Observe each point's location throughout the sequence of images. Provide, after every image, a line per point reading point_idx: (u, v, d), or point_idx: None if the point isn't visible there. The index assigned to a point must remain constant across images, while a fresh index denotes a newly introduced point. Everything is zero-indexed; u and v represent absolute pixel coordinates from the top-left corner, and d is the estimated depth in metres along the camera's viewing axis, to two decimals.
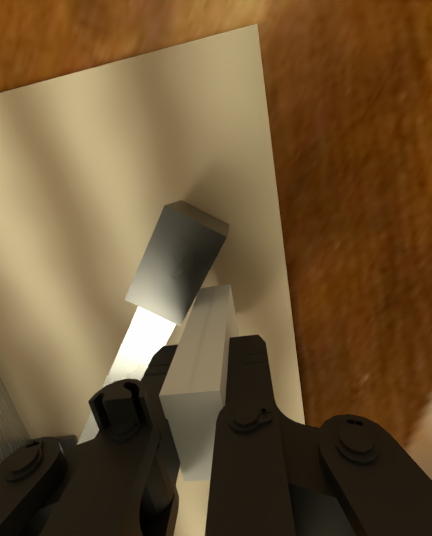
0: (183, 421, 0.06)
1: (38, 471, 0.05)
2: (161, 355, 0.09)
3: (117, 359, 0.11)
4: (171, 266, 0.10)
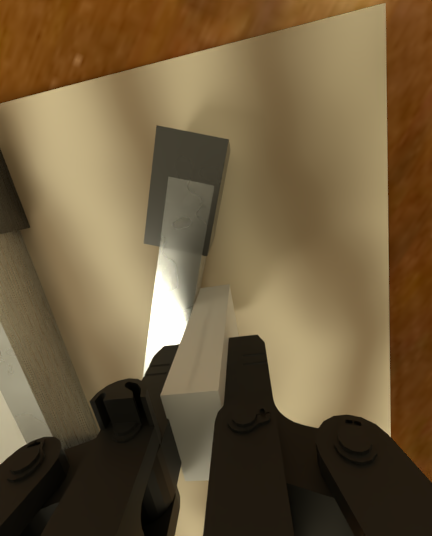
0: (184, 422, 0.06)
1: (39, 471, 0.05)
2: (162, 355, 0.09)
3: (153, 312, 0.11)
4: (181, 191, 0.09)
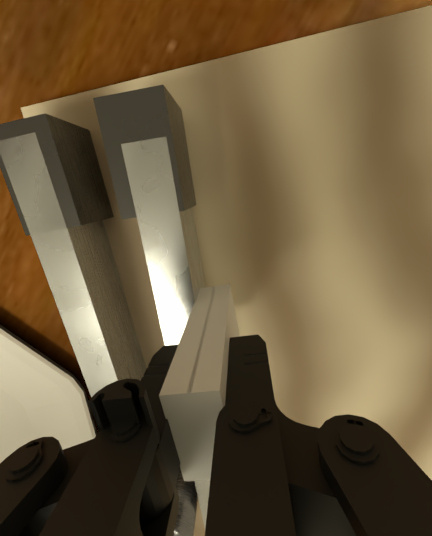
0: (183, 422, 0.06)
1: (38, 471, 0.05)
2: (161, 355, 0.09)
3: (154, 286, 0.11)
4: (137, 154, 0.09)
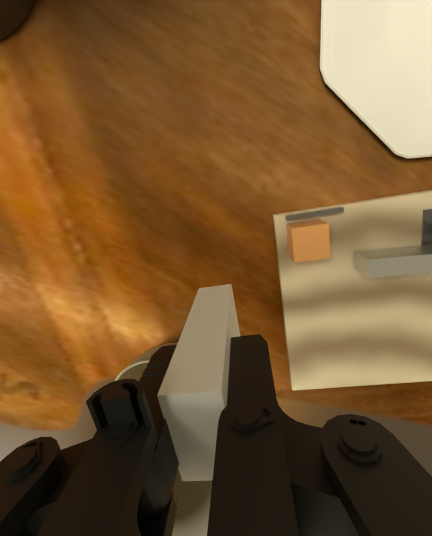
0: (181, 422, 0.06)
1: (36, 471, 0.05)
2: (160, 355, 0.09)
3: None
4: None
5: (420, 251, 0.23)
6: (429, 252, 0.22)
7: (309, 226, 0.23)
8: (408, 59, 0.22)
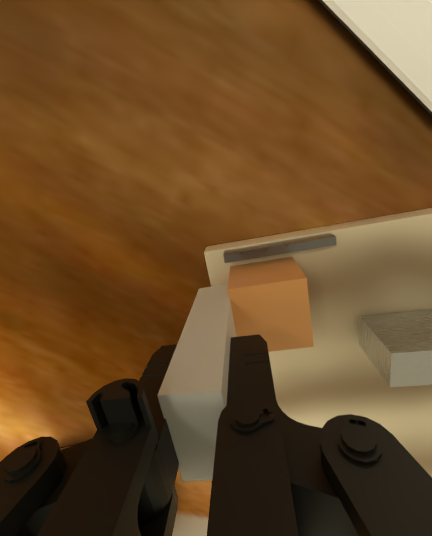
0: (181, 422, 0.06)
1: (36, 471, 0.05)
2: (160, 355, 0.09)
3: None
4: None
5: None
6: None
7: (265, 284, 0.10)
8: None
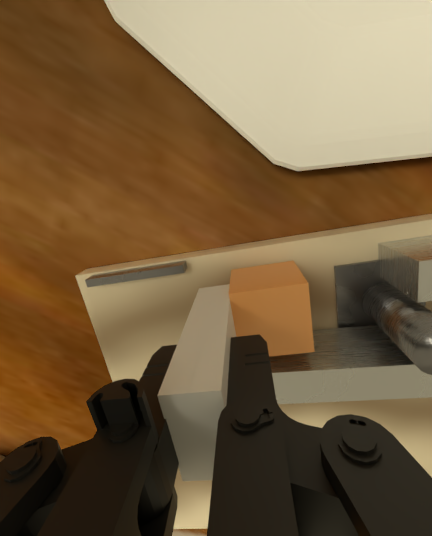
0: (181, 422, 0.06)
1: (36, 471, 0.05)
2: (160, 355, 0.09)
3: None
4: None
5: (320, 354, 0.12)
6: (334, 361, 0.11)
7: (267, 288, 0.10)
8: None
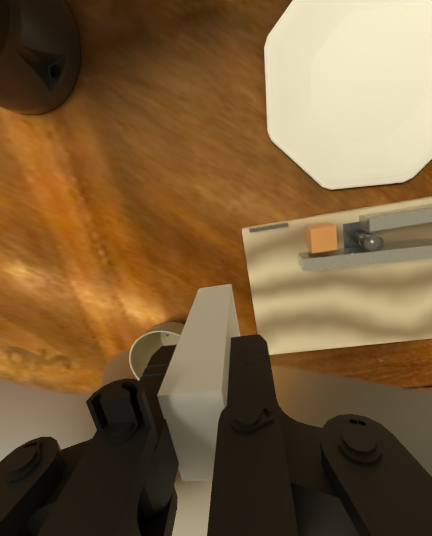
0: (181, 422, 0.06)
1: (36, 471, 0.05)
2: (160, 355, 0.09)
3: None
4: None
5: (338, 253, 0.34)
6: (343, 253, 0.33)
7: (322, 227, 0.33)
8: (326, 124, 0.33)
